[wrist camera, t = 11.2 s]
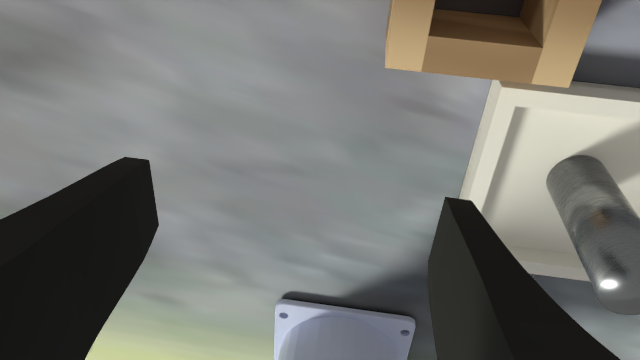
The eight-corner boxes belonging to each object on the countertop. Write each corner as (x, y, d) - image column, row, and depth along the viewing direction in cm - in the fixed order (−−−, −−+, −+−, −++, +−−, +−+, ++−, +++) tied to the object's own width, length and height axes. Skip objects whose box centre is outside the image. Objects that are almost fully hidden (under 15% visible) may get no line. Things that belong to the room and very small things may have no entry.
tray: (630, 266, 24) (643, 288, 23) (446, 242, 25) (449, 262, 23) (729, 98, 19) (752, 115, 18) (494, 72, 19) (501, 87, 18)
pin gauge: (597, 202, 22) (664, 317, 16) (540, 200, 22) (588, 312, 17) (613, 156, 20) (693, 264, 15) (553, 153, 21) (610, 259, 15)
